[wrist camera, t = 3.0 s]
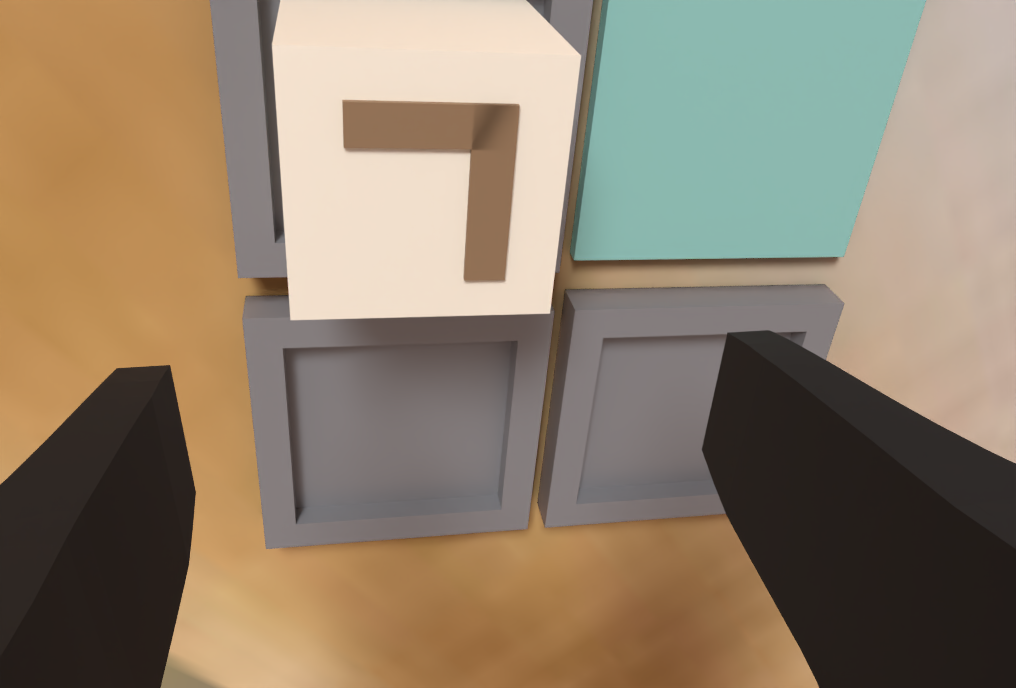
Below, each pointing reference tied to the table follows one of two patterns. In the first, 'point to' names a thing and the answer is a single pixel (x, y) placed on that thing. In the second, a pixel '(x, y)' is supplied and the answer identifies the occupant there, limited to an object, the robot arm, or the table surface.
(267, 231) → the tray
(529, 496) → the tray
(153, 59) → the table surface
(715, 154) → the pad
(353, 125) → the letter cube
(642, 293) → the tray
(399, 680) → the table surface
